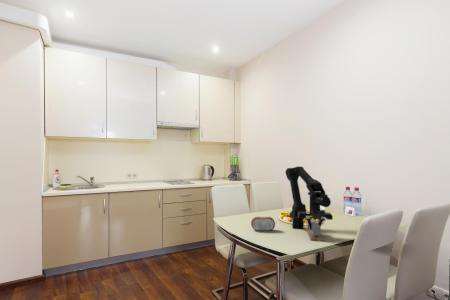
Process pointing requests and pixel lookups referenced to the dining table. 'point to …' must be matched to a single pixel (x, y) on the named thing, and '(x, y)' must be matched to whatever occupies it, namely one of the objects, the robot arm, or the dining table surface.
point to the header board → (314, 237)
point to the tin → (263, 223)
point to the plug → (315, 228)
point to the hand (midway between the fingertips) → (314, 230)
